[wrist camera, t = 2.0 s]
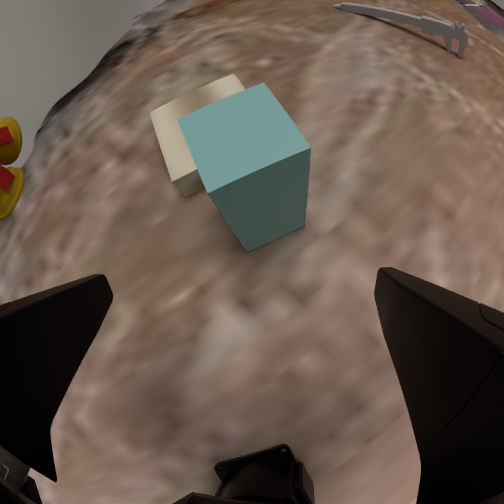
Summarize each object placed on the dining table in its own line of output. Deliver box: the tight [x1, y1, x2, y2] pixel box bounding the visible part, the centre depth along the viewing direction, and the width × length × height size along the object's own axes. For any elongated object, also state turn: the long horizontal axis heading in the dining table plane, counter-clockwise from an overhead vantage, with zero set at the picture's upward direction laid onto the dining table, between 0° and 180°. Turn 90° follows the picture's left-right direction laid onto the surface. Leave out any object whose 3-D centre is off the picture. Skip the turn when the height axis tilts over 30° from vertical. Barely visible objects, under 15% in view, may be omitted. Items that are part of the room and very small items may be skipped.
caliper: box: [333, 2, 468, 58], centre depth 25 cm, size 21×1×6 cm, turn 61°
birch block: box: [150, 74, 245, 197], centre depth 25 cm, size 9×9×4 cm
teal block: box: [177, 83, 311, 253], centre depth 18 cm, size 5×5×11 cm
